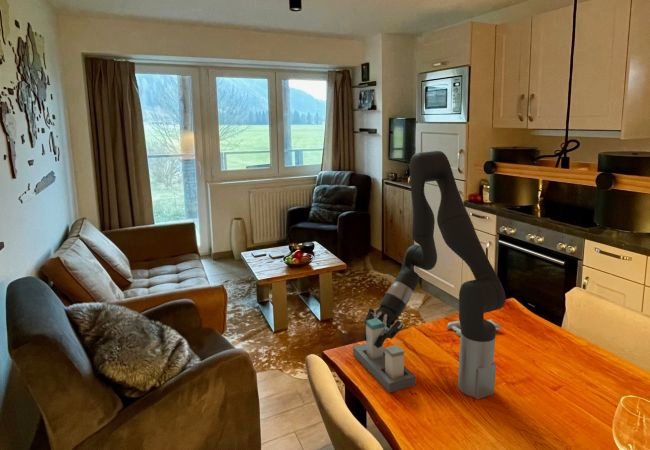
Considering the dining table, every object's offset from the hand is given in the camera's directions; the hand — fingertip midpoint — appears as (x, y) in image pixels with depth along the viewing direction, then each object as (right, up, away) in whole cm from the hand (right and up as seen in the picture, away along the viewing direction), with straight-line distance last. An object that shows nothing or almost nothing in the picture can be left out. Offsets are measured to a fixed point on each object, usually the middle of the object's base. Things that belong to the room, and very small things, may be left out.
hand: (370, 343), depth 138 cm
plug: (+2, -5, +2) cm, 6 cm away
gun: (+40, -2, +22) cm, 46 cm away
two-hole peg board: (+4, -8, -2) cm, 9 cm away
